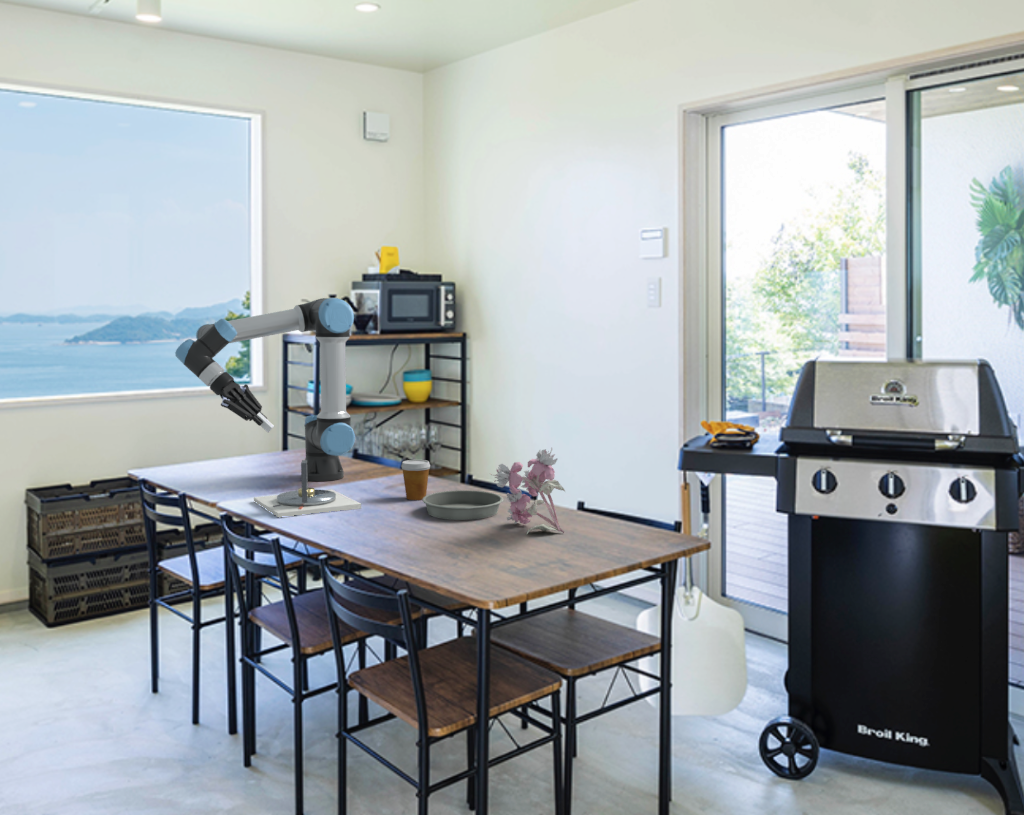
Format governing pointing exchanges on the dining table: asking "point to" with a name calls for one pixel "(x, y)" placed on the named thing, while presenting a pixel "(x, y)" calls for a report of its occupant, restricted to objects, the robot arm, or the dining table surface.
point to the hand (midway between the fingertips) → (271, 429)
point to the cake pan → (462, 504)
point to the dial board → (289, 510)
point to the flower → (531, 489)
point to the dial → (305, 493)
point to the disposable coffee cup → (415, 478)
